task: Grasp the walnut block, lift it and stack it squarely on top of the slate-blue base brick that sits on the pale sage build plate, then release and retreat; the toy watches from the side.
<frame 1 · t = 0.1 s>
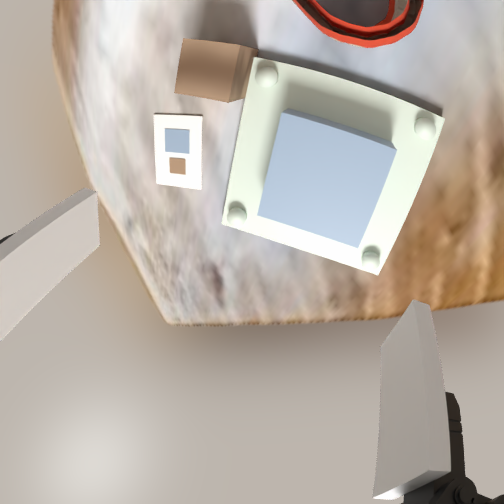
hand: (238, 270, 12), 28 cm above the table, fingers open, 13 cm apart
instruction page: (178, 151, 40), on the table
walnut block: (229, 68, 33), on the table
build plate: (326, 169, 37), on the table
base brick: (326, 172, 36), point 1 cm above the table, touching build plate
toy: (361, 9, 26), on the table
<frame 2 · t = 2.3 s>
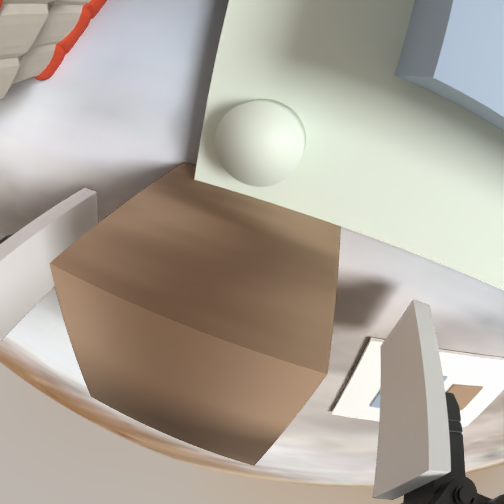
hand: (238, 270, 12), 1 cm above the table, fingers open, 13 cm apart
instruction page: (430, 392, 15), on the table
walnut block: (244, 250, 13), on the table
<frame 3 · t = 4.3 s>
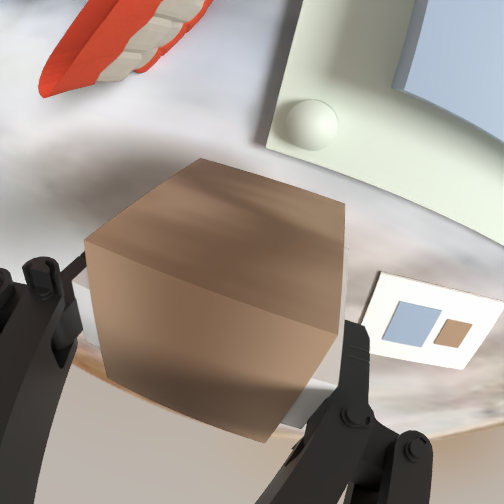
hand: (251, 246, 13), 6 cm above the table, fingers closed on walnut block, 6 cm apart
instruction page: (429, 327, 20), on the table
walnut block: (254, 242, 14), point 5 cm above the table, touching gripper
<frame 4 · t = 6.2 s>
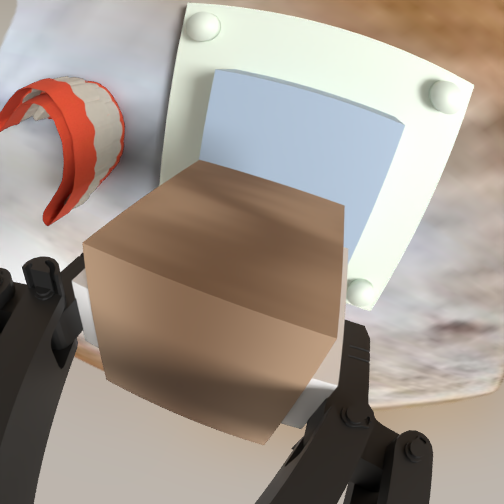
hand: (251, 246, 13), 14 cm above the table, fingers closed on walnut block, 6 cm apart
walnut block: (253, 244, 14), point 13 cm above the table, touching gripper
build plate: (296, 159, 25), on the table
base brick: (294, 163, 24), point 1 cm above the table, touching build plate
toy: (95, 122, 28), on the table
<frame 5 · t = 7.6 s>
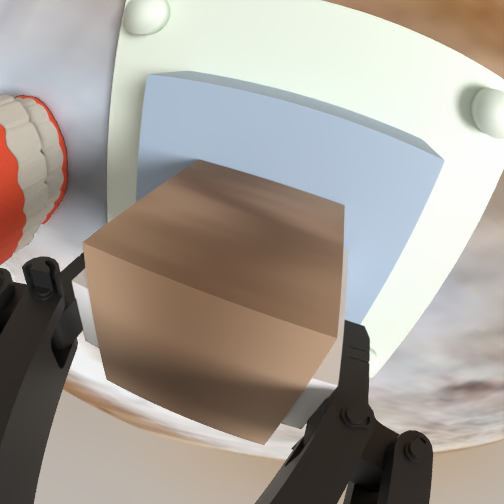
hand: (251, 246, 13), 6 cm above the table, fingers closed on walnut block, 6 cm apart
walnut block: (253, 244, 14), point 5 cm above the table, touching gripper
build plate: (278, 195, 18), on the table
base brick: (274, 204, 17), point 1 cm above the table, touching build plate
toy: (39, 145, 21), on the table
when the fingers open (6 cm above the table, at t = 8.2 s): walnut block stays where it is, resting on base brick.
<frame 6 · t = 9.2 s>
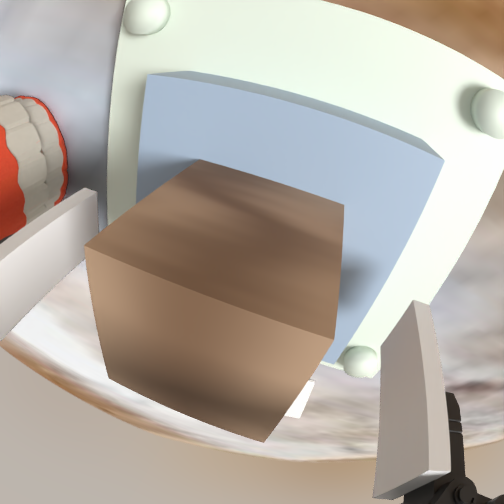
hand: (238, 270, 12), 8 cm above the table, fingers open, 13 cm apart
instruction page: (255, 388, 29), on the table
walnut block: (253, 242, 14), point 5 cm above the table, touching base brick
build plate: (279, 195, 18), on the table
base brick: (274, 204, 17), point 1 cm above the table, touching build plate, walnut block
toy: (39, 145, 21), on the table
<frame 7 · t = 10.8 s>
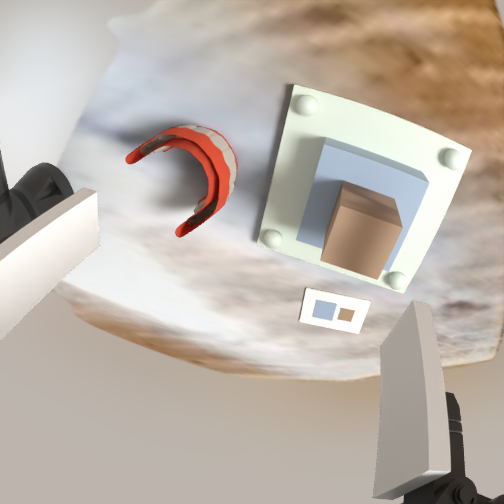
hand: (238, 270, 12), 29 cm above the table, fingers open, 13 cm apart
instruction page: (334, 311, 48), on the table
walnut block: (360, 213, 34), point 5 cm above the table, touching base brick
build plate: (360, 195, 38), on the table
base brick: (360, 198, 37), point 1 cm above the table, touching build plate, walnut block
toy: (208, 159, 42), on the table
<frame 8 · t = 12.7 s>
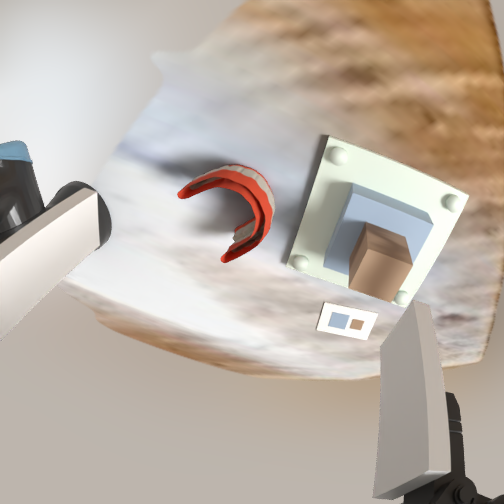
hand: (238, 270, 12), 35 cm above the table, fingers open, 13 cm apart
instruction page: (346, 321, 56), on the table
walnut block: (377, 247, 42), point 5 cm above the table, touching base brick
build plate: (375, 229, 46), on the table
base brick: (376, 232, 45), point 1 cm above the table, touching build plate, walnut block
toy: (246, 193, 49), on the table
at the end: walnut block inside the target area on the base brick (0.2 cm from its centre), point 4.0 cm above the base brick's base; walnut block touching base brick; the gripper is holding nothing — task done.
